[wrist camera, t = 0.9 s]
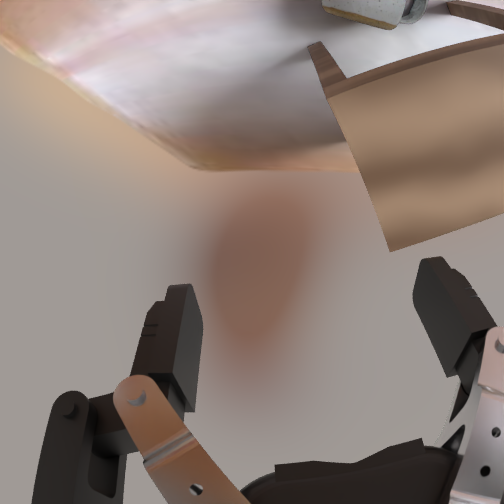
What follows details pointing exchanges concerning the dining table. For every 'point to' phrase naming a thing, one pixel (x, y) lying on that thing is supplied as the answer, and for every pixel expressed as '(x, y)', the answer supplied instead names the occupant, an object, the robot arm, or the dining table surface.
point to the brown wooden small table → (427, 131)
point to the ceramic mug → (376, 11)
